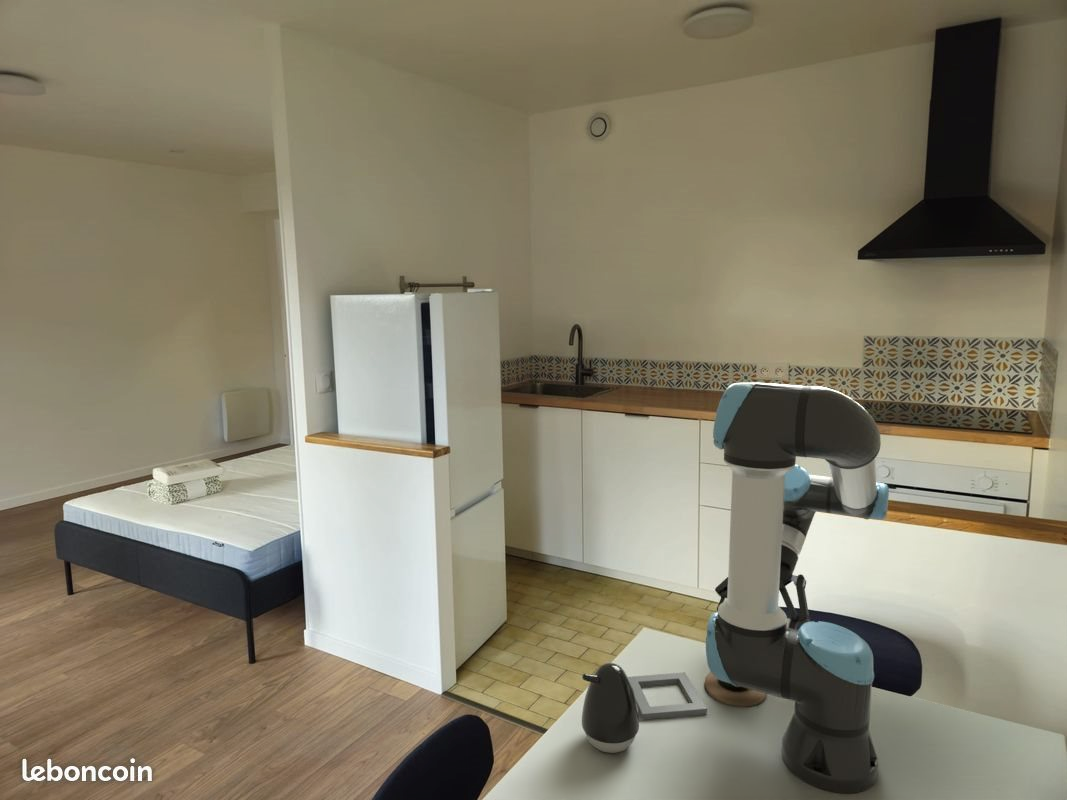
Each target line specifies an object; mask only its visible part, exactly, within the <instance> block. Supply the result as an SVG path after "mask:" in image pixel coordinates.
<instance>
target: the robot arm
mask: <svg viewBox="0 0 1067 800" xmlns="http://www.w3.org/2000/svg"><path fill="white" fill-rule="evenodd" d="M712 438H713V444H714V447H716V449H719V450H723V461H724V463H725V464H726V466H728V467H729V468H730V469H731V472H732V473H731V474H732V475H731V476H732V477H731V495H730V496H731V497H730V498H731V501H730V521H729V522H730V523H729V524H730V526H729V547H728V548H729V550H728V571H727V572H728V574H727V577H726V578H725V579H724V580H722V581H721V583H720V584H718V585H717V586H716V587H715V588H714V591H715V592H716V594H717V595H718V597H720V599H719V603H718V605H717V607H716V612H713V613H711V615H710V616H709V619H708V622H707V625H706V636H705V656H706V662H707V663H706V664H707V665H708V669H709V672H711V673H712V674H713V675H714V676H715V678H717V679H719V680H721V681H724V682H727V683H730V684H732V685H734V686H736V687H744V688H748V689H752V690H755V691H759V692H763V693H766V695H767V694H768V695H771V696H775V697H777V698H782V699H786V700H790V701H793V702H794V712H793V715H792V717H791V719H790V721H789V724H788V726H787V728H786V730H785V732H784V733H783V736H782V741H781V756H782V760H783V762H784V763H785V765H786V766H787V768H788V769H789V770H790V771H791V772H792V773H793V774H794V775H795V776H797V777H798V778H799V779H801V780H803V782H805V783H807V784H810V785H812V786H815V787H816V788H820V789H822V790H825V791H829V792H835V793H839V794H840V793H842V794H852V793H859V792H860V793H861V792H864V791H865V790H868V789H869V788H871V787H872V786H874V784H875V783H876V781H877V779H878V771H879V761H878V756H877V752H876V749H875V746H874V742H873V738H872V735H871V731H870V720H871V719H870V717H871V701H872V686H873V682H874V681H875V680H874V679H875V671H874V655H873V651H872V648H871V647H870V646H869V644H868V643H867V642H866V641H865V640H864V639H863V638H862V637H860V636H859V635H858V634H857V633H855V632H853V631H852V630H850V629H848V628H846V627H844V626H841V625H838V624H836V623H832V622H828V621H827V622H826V621H822V620H821V621H820V620H819V621H817V622H816V621H813V620H812V621H811V619H810V613H809V607H808V601H807V595H806V586H807V580H806V578H805V576H804V575H803V574H798V575H795V574H794V571H795V569H796V565H797V563H798V560H799V555H800V554H801V552H802V550H803V546H804V544H805V541H806V539H807V535H808V532H809V530H810V527H811V525H812V522H813V519H814V518H815V517H814V516H815V514H816V512H818V513H824V514H833V515H838V516H839V515H840V516H844V517H845V516H847V517H851V518H852V517H853V518H859V519H864V520H866V521H867V520H875V521H883V520H885V519H886V518H887V515H888V508H889V495H890V494H889V493H890V488H889V486H888V484H886V483H882V482H878V481H877V473H876V472H877V471H876V459H877V456H878V455H879V452H880V449H881V433H880V429H879V427H878V424H877V423H876V421H875V420H874V417H873V416H872V415H871V413H869V412H868V410H866V409H865V408H864V407H863V406H862V405H861V404H860V403H858V402H857V401H855V399H853V398H851V396H848V395H847V394H844V393H842V392H840V391H837V390H835V389H833V388H832V389H831V388H830V387H829V388H828V387H824V386H816V385H812V386H811V385H795V384H782V383H780V384H779V383H771V382H769V383H768V382H767V383H766V382H759V381H757V382H756V381H754V382H735V383H732V384H730V385H729V386H728V387H727V388H726V389H725V391H724V392H723V394H722V395H721V398H720V401H719V403H718V405H717V410H716V413H715V418H714V425H713V430H712ZM796 457H801V458H814V459H820V460H825V462H827V463H828V464H829V471H830V474H831V476H824V475H816V474H809V472H808V471H807V470H806V469H805V468H803V467H802V466H800V465H798V464H796V459H797V458H796ZM792 582H793V584H794V586H795V589H796V594H797V600H798V608H799V613H800V615H799V614H798V613H797V611H796V609H795V605H794V604H793V602H792V599H791V596H790V595H789V591H788V590H787V587H786V586H788V585H790V584H791V583H792ZM779 595H781V597H782V600H783V602H784V605H785V607H786V609H787V612H788V613H789V614H788V615H789V616H790V618H788V617H787V615H786V613H785V611H784V610H783V609H782V608H781V607H780V606H779V600H780V599H779V598H780V596H779ZM799 626H800V627H799Z"/></svg>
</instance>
